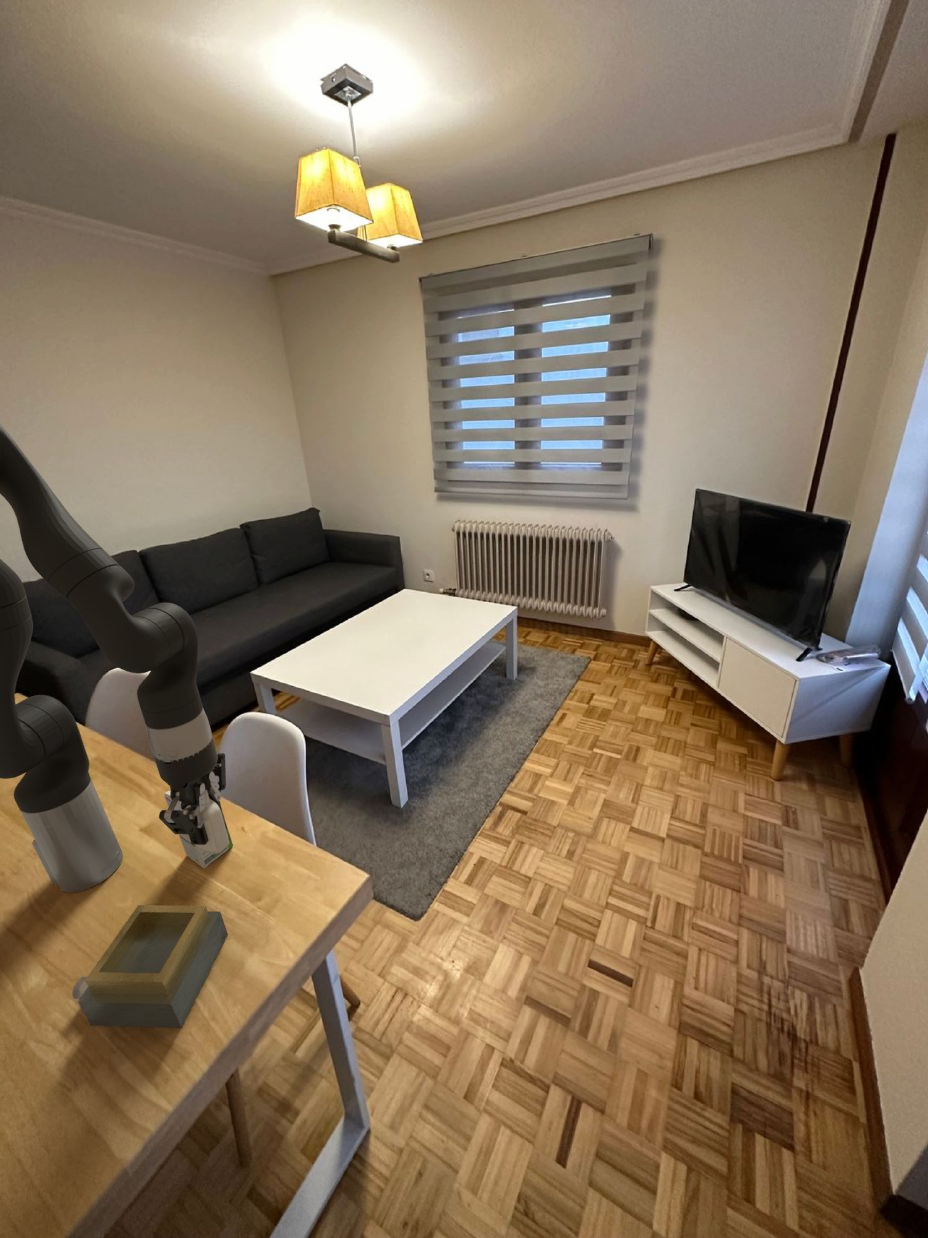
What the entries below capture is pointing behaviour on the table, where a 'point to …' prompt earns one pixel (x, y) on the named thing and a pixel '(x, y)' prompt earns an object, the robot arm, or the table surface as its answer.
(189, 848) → the syrup box
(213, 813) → the eye dropper bottle
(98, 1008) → the grey gold open box
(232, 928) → the table surface
